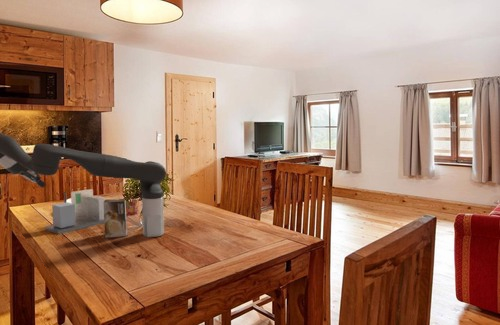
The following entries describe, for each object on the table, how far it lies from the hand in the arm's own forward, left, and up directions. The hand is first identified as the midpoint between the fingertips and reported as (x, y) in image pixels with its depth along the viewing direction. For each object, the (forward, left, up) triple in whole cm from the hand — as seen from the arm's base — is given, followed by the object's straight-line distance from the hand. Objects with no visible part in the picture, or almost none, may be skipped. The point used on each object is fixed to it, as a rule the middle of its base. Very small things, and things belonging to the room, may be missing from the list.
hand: (43, 185), depth 157 cm
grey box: (+5, -7, -20) cm, 22 cm away
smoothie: (+25, -38, -22) cm, 51 cm away
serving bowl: (+40, -13, -22) cm, 48 cm away
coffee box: (-13, -30, -22) cm, 39 cm away
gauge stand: (+8, -11, -22) cm, 26 cm away
